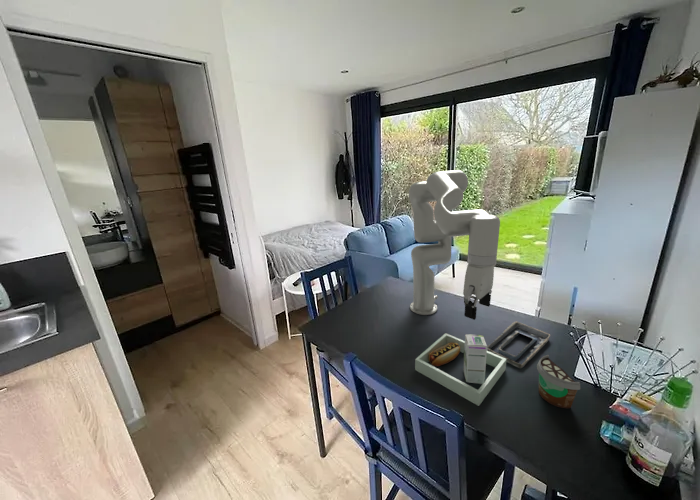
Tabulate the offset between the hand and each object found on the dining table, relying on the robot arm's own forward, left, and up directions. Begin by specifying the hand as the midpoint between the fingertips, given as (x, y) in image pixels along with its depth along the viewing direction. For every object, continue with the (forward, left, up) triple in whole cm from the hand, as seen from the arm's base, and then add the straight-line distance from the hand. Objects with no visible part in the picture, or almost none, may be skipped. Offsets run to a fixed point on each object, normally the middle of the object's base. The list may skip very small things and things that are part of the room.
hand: (477, 311), depth 87 cm
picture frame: (-26, +5, -25) cm, 36 cm away
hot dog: (-1, -10, -25) cm, 27 cm away
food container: (-7, +20, -25) cm, 32 cm away
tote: (0, -4, -24) cm, 25 cm away
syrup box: (0, 0, -25) cm, 25 cm away
